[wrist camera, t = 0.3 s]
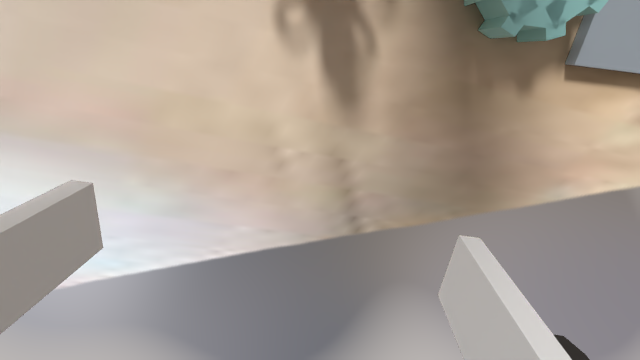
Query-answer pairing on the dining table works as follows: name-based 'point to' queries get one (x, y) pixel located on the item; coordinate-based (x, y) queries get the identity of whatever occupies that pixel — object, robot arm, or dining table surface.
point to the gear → (531, 17)
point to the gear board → (609, 38)
